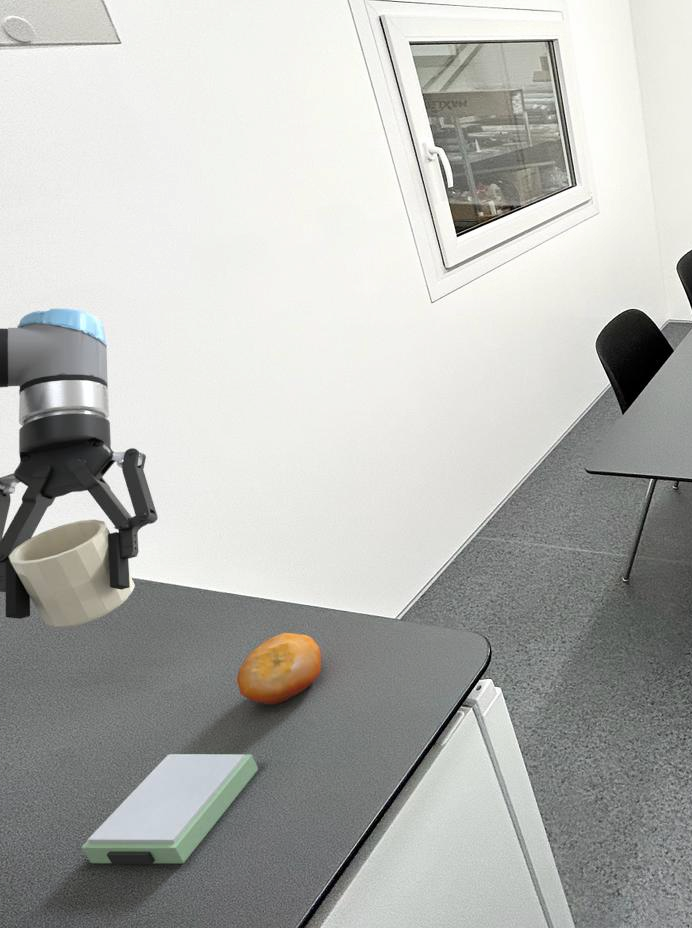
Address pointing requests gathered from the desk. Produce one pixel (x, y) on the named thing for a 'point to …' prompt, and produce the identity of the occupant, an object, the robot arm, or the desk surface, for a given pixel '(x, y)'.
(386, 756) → the desk surface
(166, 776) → the scale
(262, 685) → the fruit
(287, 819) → the desk surface
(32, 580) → the cream faceted cup
